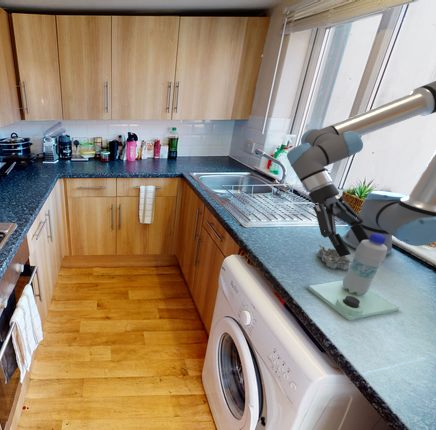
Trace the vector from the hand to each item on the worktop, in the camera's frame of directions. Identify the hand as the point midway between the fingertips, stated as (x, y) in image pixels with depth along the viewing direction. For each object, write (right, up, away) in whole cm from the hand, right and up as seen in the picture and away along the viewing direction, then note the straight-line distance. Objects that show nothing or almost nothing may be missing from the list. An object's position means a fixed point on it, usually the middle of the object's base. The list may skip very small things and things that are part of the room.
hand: (356, 250), depth 87 cm
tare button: (-6, -15, -5) cm, 17 cm away
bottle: (+1, -13, +3) cm, 14 cm away
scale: (-1, -15, +1) cm, 15 cm away
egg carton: (+7, -7, +20) cm, 22 cm away
